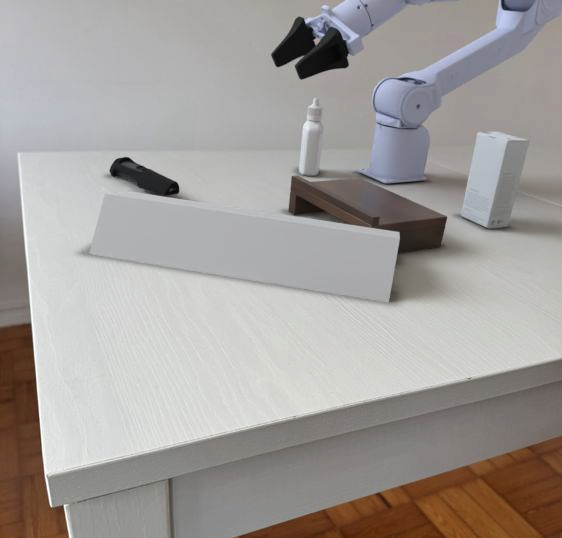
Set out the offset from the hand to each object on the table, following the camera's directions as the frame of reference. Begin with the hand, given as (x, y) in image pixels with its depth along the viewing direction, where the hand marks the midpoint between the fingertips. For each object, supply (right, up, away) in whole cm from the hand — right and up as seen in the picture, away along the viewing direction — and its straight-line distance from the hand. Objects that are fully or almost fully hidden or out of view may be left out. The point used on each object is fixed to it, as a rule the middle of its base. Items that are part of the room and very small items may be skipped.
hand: (285, 66), depth 88 cm
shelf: (+10, -26, -9) cm, 29 cm away
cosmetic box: (+29, -23, -1) cm, 37 cm away
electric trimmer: (-21, -18, 0) cm, 27 cm away
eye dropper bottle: (+4, -11, +15) cm, 19 cm away
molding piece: (-4, -31, -19) cm, 37 cm away
